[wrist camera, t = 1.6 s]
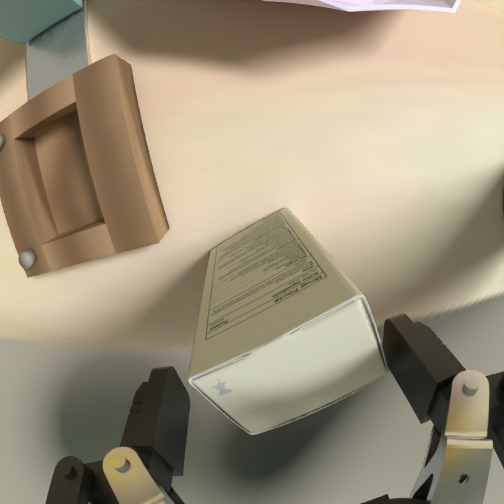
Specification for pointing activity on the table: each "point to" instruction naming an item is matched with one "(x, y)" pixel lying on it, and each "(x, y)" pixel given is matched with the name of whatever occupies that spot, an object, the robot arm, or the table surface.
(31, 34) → the teal block
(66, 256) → the socket block
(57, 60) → the rail
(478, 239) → the table surface
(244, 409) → the skincare box
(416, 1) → the fruit bowl
